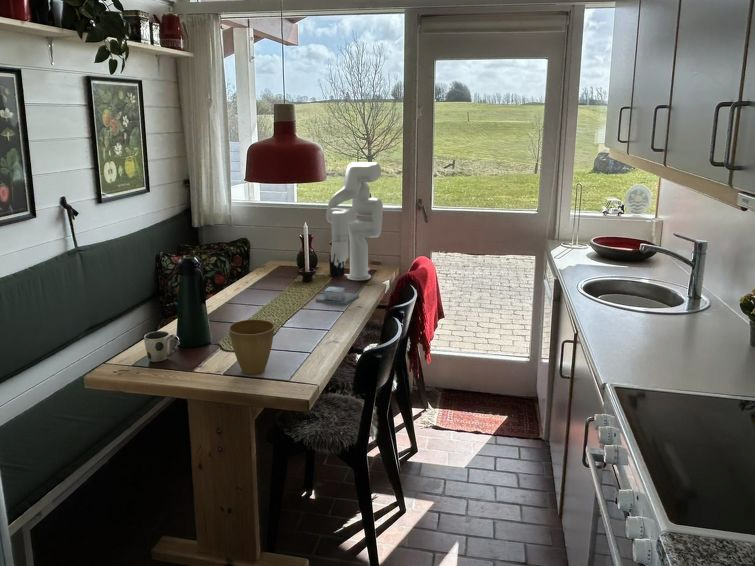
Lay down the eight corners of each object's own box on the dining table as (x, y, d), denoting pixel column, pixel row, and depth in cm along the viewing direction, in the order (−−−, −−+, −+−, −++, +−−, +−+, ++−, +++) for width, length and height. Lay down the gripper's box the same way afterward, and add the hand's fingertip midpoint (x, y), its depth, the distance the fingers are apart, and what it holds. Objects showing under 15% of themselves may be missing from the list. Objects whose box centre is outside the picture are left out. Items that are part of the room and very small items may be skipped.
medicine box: (345, 287, 292) (340, 291, 284) (345, 296, 294) (340, 301, 285) (328, 286, 294) (323, 290, 286) (328, 295, 295) (323, 300, 287)
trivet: (330, 293, 302) (330, 290, 302) (358, 296, 297) (358, 294, 296) (315, 301, 289) (315, 299, 289) (344, 305, 283) (344, 302, 283)
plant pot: (224, 378, 206) (221, 332, 201) (241, 361, 220) (238, 318, 215) (268, 381, 203) (265, 335, 199) (281, 363, 217) (280, 320, 213)
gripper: (340, 233, 300) (340, 270, 305) (325, 240, 286) (326, 278, 292) (354, 235, 297) (354, 272, 302) (339, 241, 284) (340, 280, 289)
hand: (340, 275), depth 297 cm, fingers closed
